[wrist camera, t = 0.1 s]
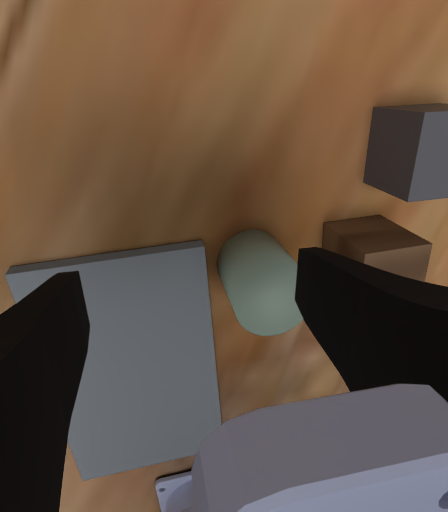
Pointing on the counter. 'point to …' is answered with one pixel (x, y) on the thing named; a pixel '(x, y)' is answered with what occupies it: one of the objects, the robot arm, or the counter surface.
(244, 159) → the counter surface
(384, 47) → the counter surface
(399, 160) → the charcoal cube
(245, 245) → the sage cylinder
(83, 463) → the slate mat
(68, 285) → the robot arm
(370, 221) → the walnut block
